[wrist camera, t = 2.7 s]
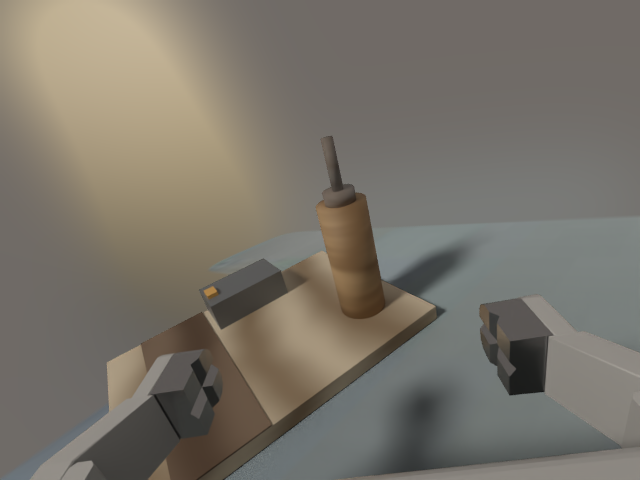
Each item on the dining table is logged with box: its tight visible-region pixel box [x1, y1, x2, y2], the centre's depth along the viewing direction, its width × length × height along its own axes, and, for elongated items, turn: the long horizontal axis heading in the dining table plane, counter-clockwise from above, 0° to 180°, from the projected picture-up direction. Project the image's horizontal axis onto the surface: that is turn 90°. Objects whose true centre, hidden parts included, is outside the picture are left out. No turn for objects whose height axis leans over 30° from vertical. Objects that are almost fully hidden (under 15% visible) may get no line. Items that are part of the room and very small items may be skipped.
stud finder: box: [199, 258, 288, 330], centre depth 28 cm, size 6×4×2 cm, turn 124°
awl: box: [316, 136, 385, 319], centre depth 22 cm, size 3×3×12 cm
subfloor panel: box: [107, 251, 437, 480], centre depth 24 cm, size 20×14×1 cm
